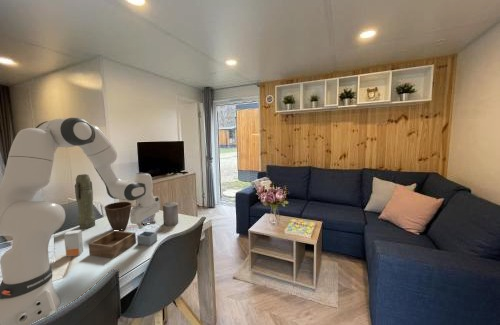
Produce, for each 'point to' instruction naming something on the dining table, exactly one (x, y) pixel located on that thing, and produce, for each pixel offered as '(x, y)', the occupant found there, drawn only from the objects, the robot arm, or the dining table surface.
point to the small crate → (147, 238)
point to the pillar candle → (170, 213)
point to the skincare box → (73, 243)
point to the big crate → (112, 244)
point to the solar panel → (147, 220)
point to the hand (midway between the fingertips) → (146, 224)
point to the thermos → (84, 201)
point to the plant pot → (118, 214)
